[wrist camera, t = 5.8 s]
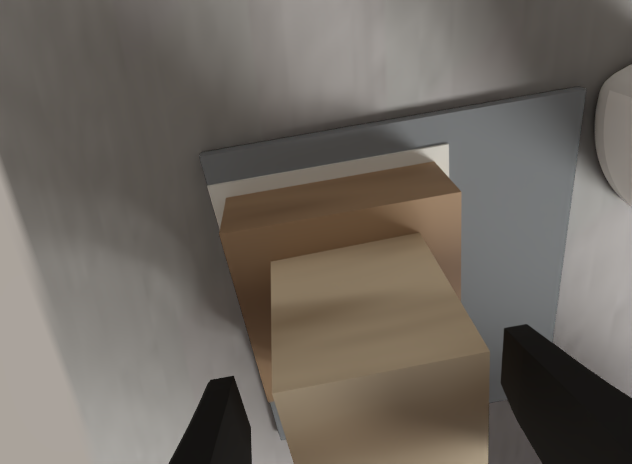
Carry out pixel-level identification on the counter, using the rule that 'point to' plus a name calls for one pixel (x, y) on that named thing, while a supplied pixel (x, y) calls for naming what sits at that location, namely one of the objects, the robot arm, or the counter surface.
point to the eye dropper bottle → (616, 132)
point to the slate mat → (476, 194)
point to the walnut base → (333, 232)
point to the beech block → (377, 358)
